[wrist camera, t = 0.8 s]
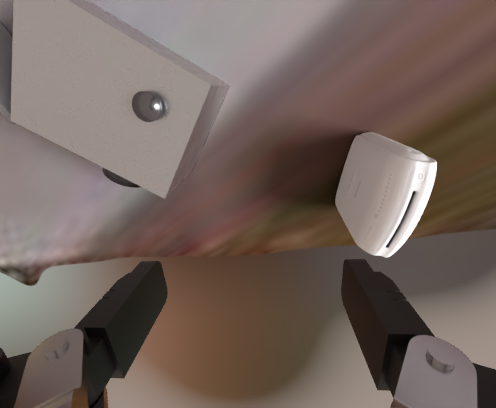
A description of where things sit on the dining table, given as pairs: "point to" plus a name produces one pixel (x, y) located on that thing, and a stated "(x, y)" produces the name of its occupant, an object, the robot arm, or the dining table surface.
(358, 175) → the photo printer
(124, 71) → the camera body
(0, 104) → the side door
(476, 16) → the dining table surface
